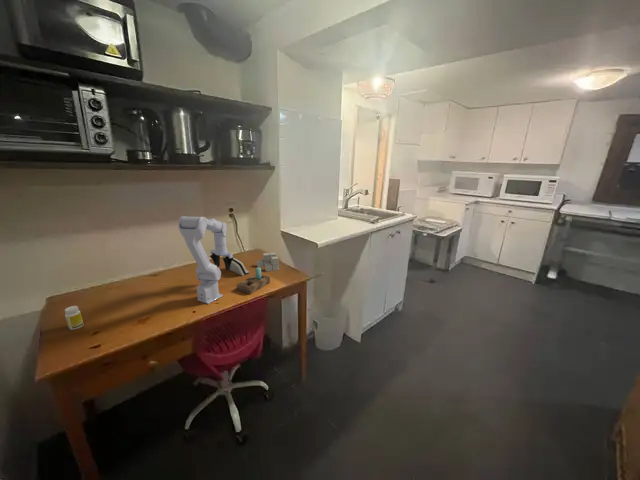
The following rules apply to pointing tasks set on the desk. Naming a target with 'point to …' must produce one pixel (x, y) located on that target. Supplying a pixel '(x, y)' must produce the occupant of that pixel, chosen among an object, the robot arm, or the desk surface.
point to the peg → (258, 273)
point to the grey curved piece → (238, 267)
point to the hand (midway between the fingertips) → (222, 268)
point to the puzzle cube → (269, 262)
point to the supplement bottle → (73, 317)
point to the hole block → (253, 284)
